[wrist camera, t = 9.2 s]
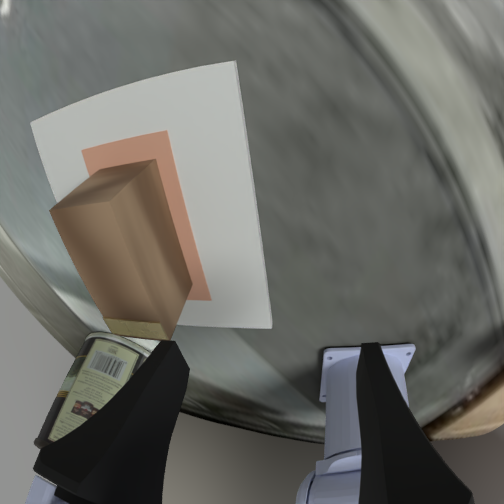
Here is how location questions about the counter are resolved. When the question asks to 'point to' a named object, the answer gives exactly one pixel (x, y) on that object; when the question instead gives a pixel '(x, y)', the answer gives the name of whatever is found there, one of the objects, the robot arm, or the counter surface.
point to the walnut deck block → (127, 249)
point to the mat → (178, 178)
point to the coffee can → (91, 383)
